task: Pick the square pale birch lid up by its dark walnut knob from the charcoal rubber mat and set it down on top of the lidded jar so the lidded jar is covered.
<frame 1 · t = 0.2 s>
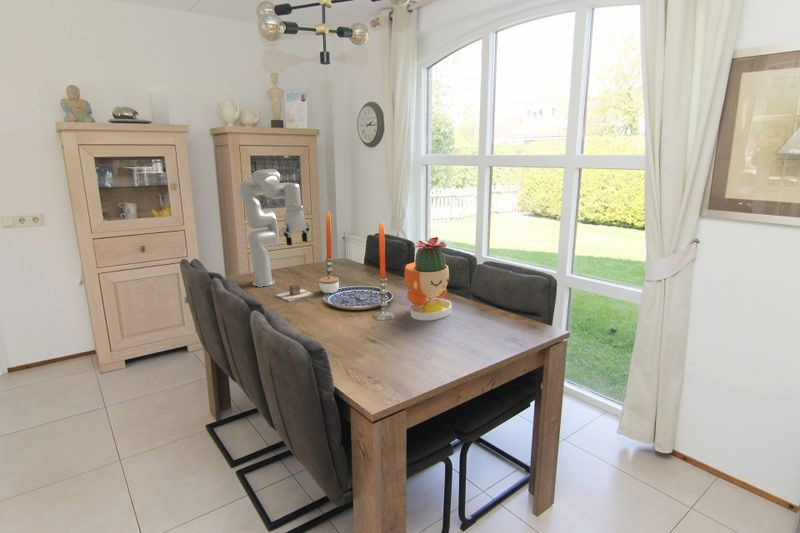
hand: (297, 243, 228), 30 cm above the table, tool pointing down, fingers open, 9 cm apart
charcoal mat: (295, 296, 243), on the table
birch lid: (295, 295, 243), resting on charcoal mat
potted cactus: (427, 312, 213), on the table
lidded jar: (330, 293, 247), on the table
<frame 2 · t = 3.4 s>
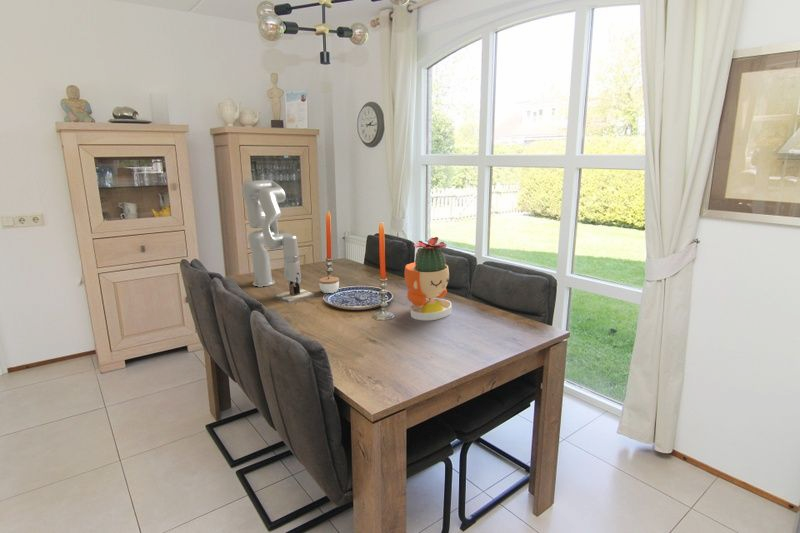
hand: (294, 292, 242), 2 cm above the table, tool pointing down, fingers closed on birch lid, 4 cm apart
birch lid: (295, 295, 243), resting on charcoal mat, touching gripper
everything else where it was.
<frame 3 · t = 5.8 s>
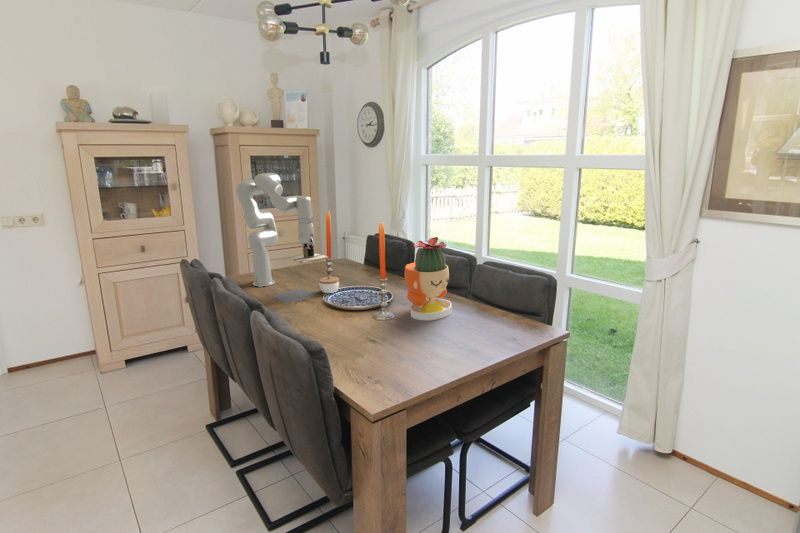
hand: (308, 255, 239), 22 cm above the table, tool pointing down, fingers closed on birch lid, 4 cm apart
birch lid: (309, 258, 239), point 20 cm above the table, touching gripper
everything else where it was.
when the fingers open (13 cm above the table, at t = 8.3 s): birch lid drops 1 cm, resting on lidded jar.
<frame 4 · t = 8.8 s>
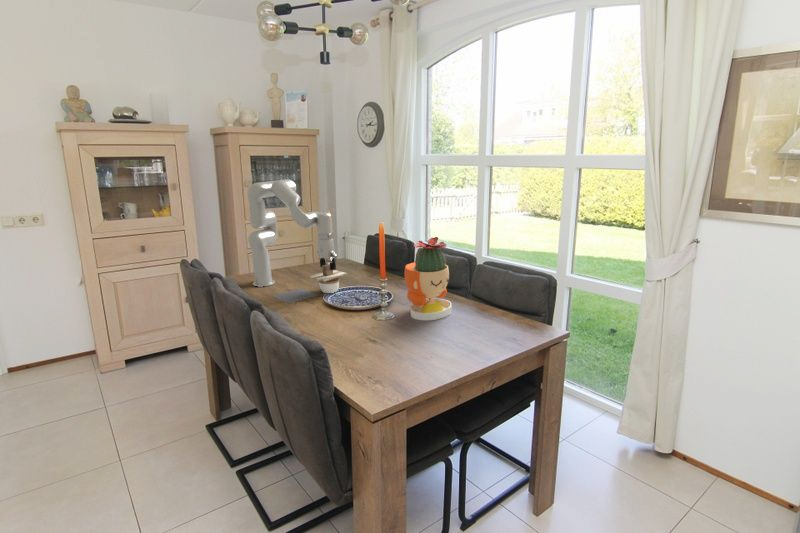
hand: (328, 268, 243), 14 cm above the table, tool pointing down, fingers open, 9 cm apart
birch lid: (328, 276, 244), point 9 cm above the table, touching lidded jar
lidded jar: (330, 293, 247), on the table, touching birch lid
everything else where it was.
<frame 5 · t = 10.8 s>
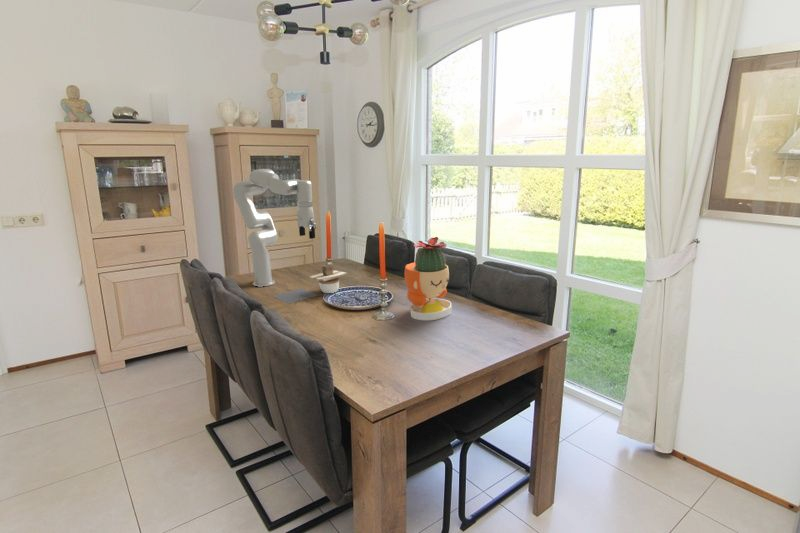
hand: (307, 236, 241), 31 cm above the table, tool pointing down, fingers open, 9 cm apart
nothing on the table moved.
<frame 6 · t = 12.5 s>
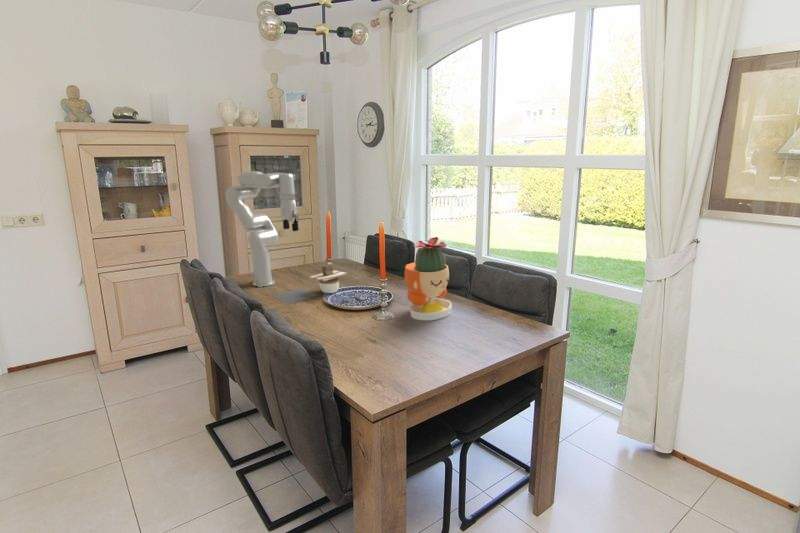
hand: (291, 229, 243), 34 cm above the table, tool pointing down, fingers open, 9 cm apart
nothing on the table moved.
at the end: birch lid 0.1 cm off-centre on the lidded jar, point 9.6 cm above the lidded jar's base; birch lid tilted 0°; the gripper is holding nothing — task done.
